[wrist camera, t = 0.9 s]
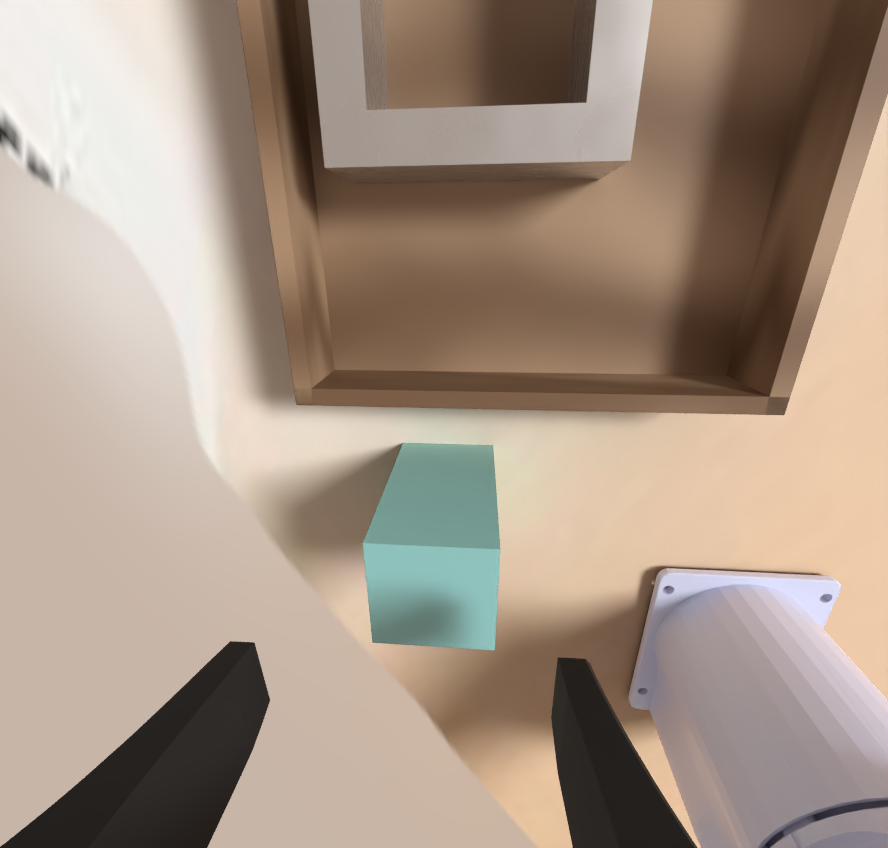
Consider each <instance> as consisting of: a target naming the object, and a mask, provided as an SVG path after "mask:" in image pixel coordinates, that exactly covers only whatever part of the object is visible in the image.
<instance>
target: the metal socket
mask: <svg viewBox="0 0 888 848" xmlns="http://www.w3.org/2000/svg"><path fill="white" fill-rule="evenodd" d="M652 3H653V0H575V10H574V22H573V34H572V45H571V57H570V69H569V81H568V92H567V103H561V104H532V105H502V106H473V107H444V108H414V109H388V88H387V66H386V45H385V24H384V3H383V0H308V5H309V15H310V25H311V35H312V45H313V55H314V65H315V76H316V86H317V96H318V106H319V116H320V126H321V136H322V146H323V156H324V166H325V168H326V169H328V170H330V171H331V172H333V173H335V174H337V175H339V176H341V177H342V178H344V179H346V180H348V181H350V182H352V183H353V184H355V185H357V184H407V183H456V182H505V181H554V180H600V179H601V178H603V177H605V176H606V175H608V174H610V173H611V172H613V171H614V170H616V169H618V168H619V167H621V166H623V165H624V164H626V163H627V162H629V161H631V154H632V147H633V140H634V133H635V126H636V118H637V111H638V104H639V97H640V90H641V82H642V75H643V68H644V61H645V54H646V46H647V39H648V32H649V25H650V18H651V10H652Z"/></svg>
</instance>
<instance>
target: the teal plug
mask: <svg viewBox="0 0 888 848" xmlns="http://www.w3.org/2000/svg"><path fill="white" fill-rule="evenodd" d="M363 551H364V561H365V571H366V581H367V591H368V601H369V612H370V622H371V632H372V642H373V643H387V644H403V645H419V646H434V647H450V648H466V649H481V650H495V637H496V619H497V600H498V582H499V563H500V539H499V524H498V510H497V495H496V481H495V467H494V452H493V445H460V444H423V443H403V444H402V447H401V449H400V452H399V454H398V457H397V459H396V462H395V464H394V467H393V469H392V472H391V474H390V477H389V479H388V482H387V484H386V487H385V489H384V492H383V494H382V497H381V499H380V502H379V504H378V507H377V509H376V512H375V514H374V517H373V519H372V522H371V524H370V526H369V529H368V531H367V534H366V536H365V539H364V541H363Z"/></svg>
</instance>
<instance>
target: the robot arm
mask: <svg viewBox="0 0 888 848" xmlns="http://www.w3.org/2000/svg"><path fill="white" fill-rule="evenodd" d="M666 586H669V587H668V588H664V587H666ZM840 590H841V585H840V583H839V582H838V581H837V580H836V579H834V578H833V577H831V576H821V575H800V574H779V573H758V572H737V571H717V570H696V569H675V568H667V569H663V570H661V571H660V572H659V573H658V574H657V576H656V581H655V585H654V589H653V593H652V598H651V602H650V606H649V611H648V615H647V619H646V623H645V628H644V632H643V636H642V640H641V645H640V649H639V653H638V657H637V662H636V666H635V670H634V674H633V679H632V683H631V687H630V691H629V696H628V700H629V703H630V705H631V707H633V708H635V709H640V710H650V713H651V716H652V719H653V721H654V724H655V727H656V729H657V732H658V735H659V738H660V740H661V743H662V746H663V748H664V751H665V754H666V756H667V759H668V762H669V765H670V767H671V770H672V773H673V775H674V778H675V781H676V784H677V786H678V789H679V792H680V794H681V797H682V800H683V803H684V805H685V808H686V811H687V813H688V816H689V819H690V821H691V824H692V827H693V830H694V832H695V835H696V837H697V839H698V841H699V844H700V846H701V848H888V700H887V698H886V697H885V696H884V695H883V694H882V693H881V692H880V691H879V690H878V689H877V687H876V686H875V685H874V684H873V683H872V682H871V681H870V680H869V679H868V678H867V677H866V675H865V674H864V673H863V672H862V671H861V670H860V669H859V668H858V667H857V666H856V664H855V663H854V662H853V661H852V660H851V659H850V658H849V657H848V656H847V655H846V654H845V652H844V651H843V650H842V649H841V648H840V647H839V646H838V645H837V644H836V643H835V641H834V640H833V639H832V638H831V637H830V636H829V635H828V634H827V633H826V632H825V630H824V629H823V628H824V625H825V623H826V621H827V619H828V617H829V614H830V612H831V610H832V608H833V606H834V603H835V601H836V599H837V597H838V595H839V592H840ZM269 702H270V698H269V695H268V691H267V688H266V684H265V680H264V677H263V673H262V669H261V665H260V662H259V658H258V654H257V651H256V647H255V643H252V642H251V643H250V642H229V643H228V644H227V645H226V646H225V647H224V648H223V649H222V650H221V651H220V652H219V653H218V654H217V655H216V656H215V657H213V658H212V659H211V660H210V661H209V662H208V663H207V664H206V665H205V666H204V667H203V668H202V669H201V670H200V671H199V672H198V673H197V674H196V675H195V676H194V677H193V678H192V679H191V680H190V681H189V682H188V683H187V684H186V685H185V686H184V687H183V688H181V689H180V690H179V691H178V692H177V693H176V694H175V695H174V696H173V697H172V698H171V699H170V700H169V701H168V702H167V703H166V704H165V705H164V706H163V707H162V708H160V709H159V711H157V712H156V713H155V714H154V715H153V716H152V717H151V718H150V719H149V720H148V721H147V722H146V723H145V724H143V725H142V726H141V727H140V728H139V729H138V730H137V731H136V732H135V733H134V734H133V735H132V736H131V737H130V738H128V739H127V740H126V741H125V742H124V743H123V744H122V745H121V746H120V747H119V748H117V749H116V750H115V751H114V752H113V753H112V754H111V755H109V756H108V757H107V758H106V759H105V760H104V761H103V762H102V763H100V764H99V765H98V766H97V767H96V768H95V769H94V770H93V771H92V772H90V773H89V774H88V775H87V776H86V777H85V778H84V779H82V780H81V781H80V782H79V783H78V784H77V785H75V786H74V787H73V788H72V789H71V790H70V791H68V792H67V793H66V794H65V795H64V796H63V797H61V798H60V799H59V800H58V801H57V802H55V804H53V805H52V806H51V807H49V808H48V809H47V810H46V811H45V812H43V813H42V814H41V815H40V816H38V817H37V818H36V819H35V820H34V821H32V822H31V823H30V824H29V825H27V826H26V827H25V828H24V829H22V830H21V831H20V832H19V833H17V834H16V835H15V836H14V837H12V838H11V839H10V840H9V841H7V842H6V843H5V844H4V845H2V846H1V847H0V848H207V847H208V845H209V843H210V840H211V838H212V836H213V834H214V832H215V830H216V828H217V825H218V823H219V821H220V819H221V817H222V814H223V813H224V810H225V808H226V806H227V804H228V802H229V800H230V798H231V796H232V794H233V791H234V789H235V787H236V785H237V783H238V781H239V778H240V776H241V774H242V772H243V770H244V768H245V765H246V763H247V761H248V759H249V757H250V754H251V752H252V750H253V747H254V744H255V742H256V739H257V736H258V734H259V731H260V728H261V725H262V722H263V719H264V716H265V713H266V710H267V707H268V704H269ZM551 718H552V727H553V736H554V744H555V753H556V761H557V769H558V775H559V781H560V786H561V791H562V796H563V801H564V806H565V811H566V815H567V820H568V825H569V830H570V835H571V840H572V845H573V848H697V846H696V845H695V843H694V842H693V841H692V839H691V838H690V836H689V835H688V833H687V831H686V830H685V828H684V827H683V825H682V824H681V822H680V821H679V819H678V818H677V816H676V815H675V813H674V811H673V810H672V808H671V807H670V805H669V804H668V802H667V801H666V799H665V797H664V796H663V794H662V793H661V791H660V789H659V788H658V786H657V785H656V783H655V781H654V780H653V778H652V776H651V775H650V773H649V771H648V770H647V768H646V766H645V765H644V763H643V761H642V760H641V758H640V756H639V755H638V753H637V751H636V750H635V748H634V746H633V745H632V743H631V741H630V739H629V738H628V736H627V734H626V732H625V731H624V729H623V727H622V725H621V723H620V722H619V720H618V718H617V716H616V714H615V712H614V711H613V709H612V707H611V705H610V703H609V701H608V699H607V697H606V696H605V694H604V692H603V690H602V688H601V686H600V684H599V682H598V680H597V678H596V676H595V673H594V671H593V669H592V667H591V665H590V663H589V662H588V661H587V660H586V659H576V658H558V661H557V670H556V679H555V689H554V698H553V708H552V717H551Z"/></svg>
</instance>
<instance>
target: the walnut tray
mask: <svg viewBox="0 0 888 848" xmlns="http://www.w3.org/2000/svg"><path fill="white" fill-rule="evenodd" d="M236 1H237V8H238V14H239V21H240V28H241V34H242V41H243V48H244V55H245V61H246V68H247V75H248V82H249V88H250V95H251V102H252V108H253V115H254V122H255V129H256V135H257V142H258V149H259V156H260V162H261V169H262V176H263V183H264V189H265V196H266V203H267V209H268V216H269V223H270V230H271V236H272V243H273V250H274V257H275V263H276V270H277V277H278V283H279V290H280V297H281V304H282V310H283V317H284V324H285V331H286V337H287V344H288V351H289V357H290V364H291V371H292V378H293V384H294V391H295V398H296V405H322V406H370V407H418V408H466V409H514V410H562V411H610V412H658V413H706V414H754V415H784V414H785V411H786V408H787V405H788V402H789V399H790V395H791V392H792V389H793V386H794V383H795V380H796V377H797V374H798V371H799V367H800V364H801V361H802V358H803V355H804V352H805V349H806V346H807V343H808V339H809V336H810V333H811V330H812V327H813V324H814V321H815V318H816V315H817V311H818V308H819V305H820V302H821V299H822V296H823V293H824V290H825V287H826V284H827V280H828V277H829V274H830V271H831V268H832V265H833V262H834V259H835V256H836V252H837V249H838V246H839V243H840V240H841V237H842V234H843V231H844V228H845V224H846V221H847V218H848V215H849V212H850V209H851V206H852V203H853V200H854V196H855V193H856V190H857V187H858V184H859V181H860V178H861V175H862V172H863V169H864V165H865V162H866V159H867V156H868V153H869V150H870V147H871V144H872V141H873V137H874V134H875V131H876V128H877V125H878V122H879V119H880V116H881V113H882V109H883V106H884V103H885V100H886V97H887V94H888V0H653V3H652V10H651V18H650V25H649V32H648V39H647V46H646V54H645V61H644V68H643V75H642V82H641V90H640V97H639V104H638V111H637V118H636V126H635V133H634V140H633V147H632V154H631V161H629V162H627V163H626V164H624V165H623V166H621V167H619V168H618V169H616V170H614V171H613V172H611V173H610V174H608V175H606V176H605V177H603V178H601V179H600V180H554V181H505V182H456V183H407V184H357V185H355V184H353V183H352V182H350V181H348V180H346V179H344V178H342V177H341V176H339V175H337V174H335V173H333V172H331V171H330V170H328V169H326V168H325V166H324V156H323V146H322V136H321V126H320V116H319V106H318V96H317V86H316V76H315V65H314V55H313V45H312V35H311V25H310V15H309V5H308V0H236ZM383 3H384V24H385V45H386V66H387V88H388V109H414V108H444V107H473V106H502V105H532V104H561V103H567V92H568V81H569V69H570V57H571V45H572V34H573V22H574V10H575V0H383Z"/></svg>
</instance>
